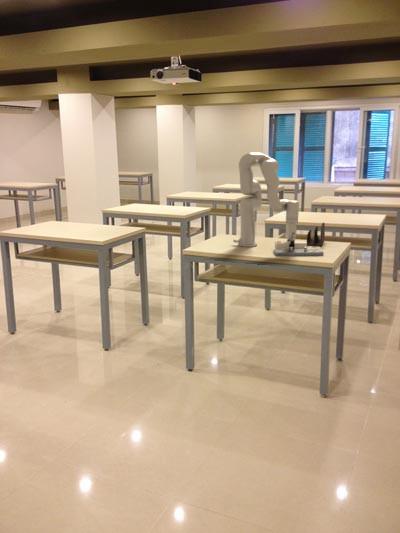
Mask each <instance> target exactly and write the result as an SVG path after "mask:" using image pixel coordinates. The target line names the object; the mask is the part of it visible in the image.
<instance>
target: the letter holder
mask: <svg viewBox="0 0 400 533" xmlns="http://www.w3.org/2000/svg"><path fill="white" fill-rule="evenodd" d="M318 228H319V227H318V226H315V228H314V233H313V239H312V238H311V237H312V229H309V230H308V232H307V236H306V243H307V247H323V244H324V242H325V222H322V223H321V227H320V238H319V232H318V231H319V229H318Z"/></svg>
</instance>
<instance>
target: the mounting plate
mask: <svg viewBox="0 0 400 533" xmlns="http://www.w3.org/2000/svg"><path fill="white" fill-rule="evenodd" d="M273 253H274V255H275V256H276V257H296V256H298V257H299V256H300V257H301V256H302V257H303V256H305V257H309V256H314V257H315V256H316V257H317V256H324V253H325V252H324V251H322V250H321V249H319V248H308V246H307V247H304V249H293V247H290V249H275V248H274V249H273Z"/></svg>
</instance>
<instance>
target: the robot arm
mask: <svg viewBox="0 0 400 533" xmlns="http://www.w3.org/2000/svg"><path fill="white" fill-rule="evenodd" d="M252 167H258V168H260V171H261V173H262V176H263V180H264V182H265V184H266V198H267V202H268V204H269V208H270V209H271V210H272V212H274V213H281V212H285V215H286V216H285V224H286V226H285V238H286V240H287V241H290V244H289V249H290V247H293V249H294V247H295V241H296V239H297V225H298V224H299V208H300V202H299V201H298V200H288V199H285V198H284V199H283V198H282V199H281V198H279V193H278V189H279V186H280V184H281V180H280V177H279V175H278V171H279V169H280V164H279V162H278V161H277V160H276V159H274V158H272V157H270V156H268V155H266V154H264V153H262V152H247V153H245V154H244V155H242V156H241V158H240V159H239V160H238V170H239V184H240V192H241V194H242V195H244V196H247V197H245V198H243V199H241V201H240V202H239V212H240V237H239V238H238V239H235V238H234V239H233V243H237V245H238V246H239V247H244V248H251V247H257V246H258V243H257V242H255V240H256V214H255V212H256V211H259V210H260V209H261V207H262V203H263V200H262V187H261V183H260V182H259V181H258V180H256V179H254V172H253V170H252Z"/></svg>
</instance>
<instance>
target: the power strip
mask: <svg viewBox="0 0 400 533" xmlns="http://www.w3.org/2000/svg"><path fill="white" fill-rule="evenodd" d="M289 244H290V241H285V240H284V241H282V240H281V241H280V240H277V241H274V249H289ZM304 247H307V248H308V246H307V241H296V240H295V247H294V249H304Z"/></svg>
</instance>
